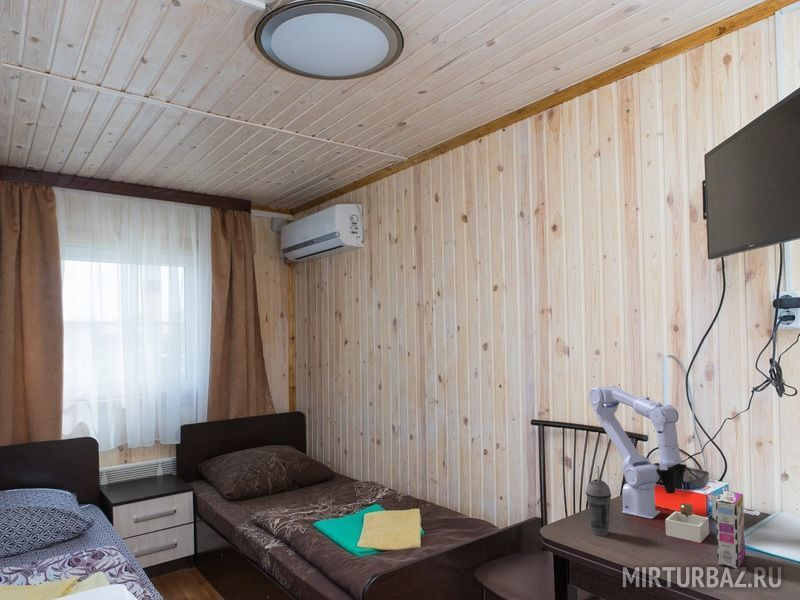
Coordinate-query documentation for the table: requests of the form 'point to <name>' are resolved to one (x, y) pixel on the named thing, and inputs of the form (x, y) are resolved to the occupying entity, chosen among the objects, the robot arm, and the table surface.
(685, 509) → the plunger
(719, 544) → the pink printed carton
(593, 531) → the beverage cup
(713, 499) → the skincare box
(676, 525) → the white framed panel box
